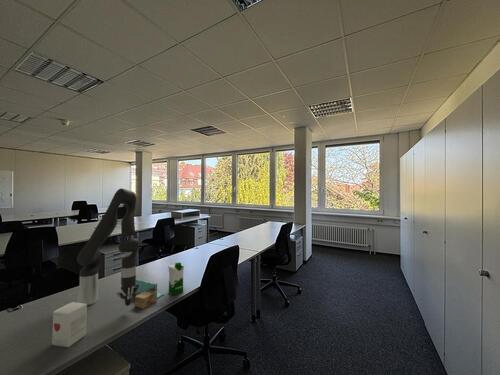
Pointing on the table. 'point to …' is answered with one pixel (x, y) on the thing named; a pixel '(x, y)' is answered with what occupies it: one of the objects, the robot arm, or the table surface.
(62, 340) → the supplement box
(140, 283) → the bookend
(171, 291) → the milk carton
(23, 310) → the table surface
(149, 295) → the block
